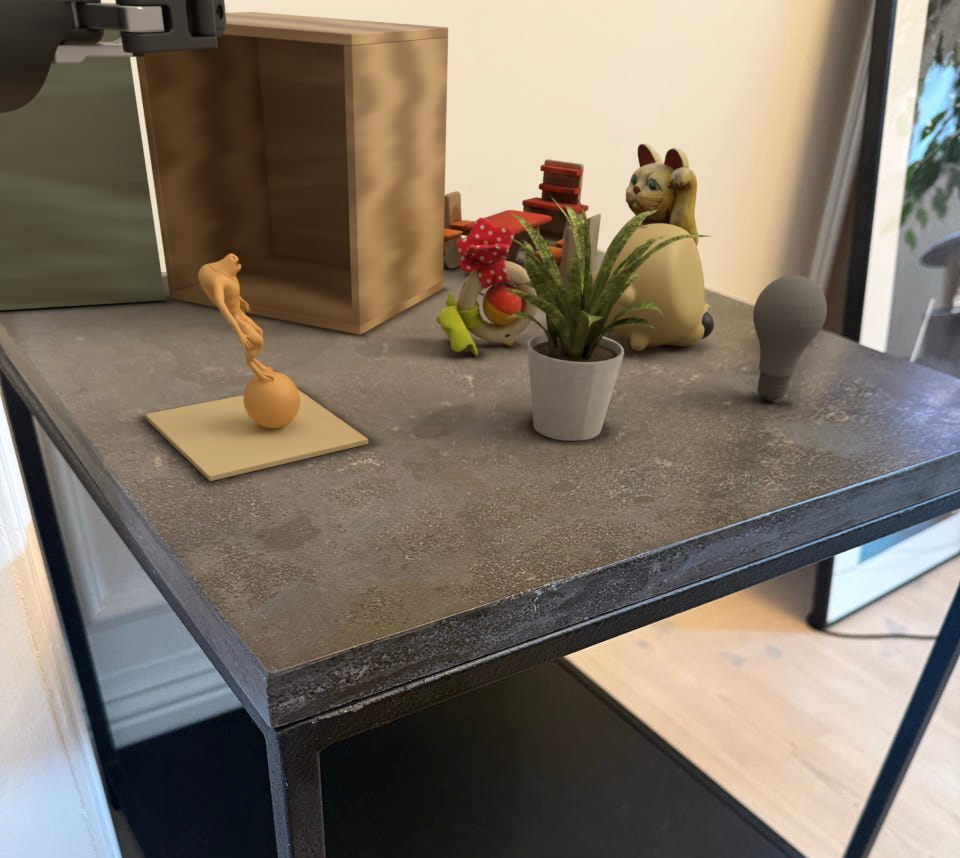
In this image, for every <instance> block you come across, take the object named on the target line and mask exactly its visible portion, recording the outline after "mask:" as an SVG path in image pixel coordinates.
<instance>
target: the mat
mask: <svg viewBox="0 0 960 858" xmlns="http://www.w3.org/2000/svg"><path fill="white" fill-rule="evenodd" d="M298 392H299V396H300V407H299V411H298V413H297V415H296V417H295V418H294V419H293V420H292V421H291V422H290V423H289V424H287V425H285V426H283V427H280V428H266V427H263V426H261V425H259V424H257V423H256V422H254V421H253V420H252V419H251V418H250V416H249V415H248V413H247V411H246V409H245V406H244V401H243V396H244V394H243V395H236V396H233V397H227V398H221V399H215V400H211V401H206V402H201V403H196V404H190V405H186V406H180V407H175V408H171V409H164V410H160V411H155V412H149V413H145V414H144V415H145V420H146V421H148V423H149V424H150V425H151V426H152V427H153V428H155V430H157V431H158V432H159V433H160V434H161V436H163V438H165V439H166V441H168V442H169V443H170V444H171V445H172V446H173V447H174V448H175V449H176V450H177V451H178V452H179V453H180V454H181V455H182V456H183V457H184V458H185V459H186V460H187V461H188V462H189V463H190V464H191V465H193V467H195V468H196V470H197V471H199V472H200V473H201V475H203V476H204V477H205V478H206V479H207V480H208V481H209V482H214V481H217V480H222V479H226V478H230V477H235V476H239V475H242V474H247V473H251V472H256V471H259V470H264V469H268V468H272V467H273V468H274V467H276V466H277V467H278V466H281V465H285V464H290V463H294V462H297V461H302V460H306V459H310V458H315V457H318V456H323V455H327V454H331V453H336V452H340V451H344V450H348V449H352V448H357V447H362V446H367V445H368V444H369V438H367V437H366V436H364V435H363V434H361V433H360V432H359V431H358V430H356V429H355V428H353V427H352V426H351V425H349V424H348V423H346V422H345V421H344V420H342V419H340V418H339V417H337V415H335V414H334V413H332V412H331V411H330V410H328V409H326V408H325V407H324V406H322V405H321V404H319V403H318V402H316V401H315V400H313V399H312V398H311V397H309V395H306V393H304V392H303V391H301V390H300V389H298Z"/></svg>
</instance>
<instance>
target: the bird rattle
mask: <svg viewBox="0 0 960 858" xmlns="http://www.w3.org/2000/svg"><path fill="white" fill-rule="evenodd" d="M484 218H485V217H479V218H478V219H477V220H475V221H476V222H475V224H474V226H473V228H472V231H471V233H470V234H469V235H468V236H466V237H465V236H464V237H462V239H459V240H458V241H457V246H456V248H457V251H458V253H459V254H460V256H461V257H462V258H461V261H460V266H459V267H460V270H461V271H462V272H464V273H467V274H468V275H467V277H466V278H465V280H464V281H463V283H462V286H461V288H460V289H459V293H458V298H457V301H456V302H455V298H454V293H453V292H452V291H450V292H449V293H448V294H447V298H446V301H445V305H446V306H445V307H444V308H443V309H441V311H440V312H439V314H438V315H437V317H436V322H437V323H438V325H440V326H441V329H442V331H444V332H445V333H446V336H447V337H448V339H449V342H450V348H451V350H452V351H453V352H455V353H460V352H462V351H464V350H465V349H466V348H467V347H468V349H469V350H470V352H471V353H472V355H473V356H474V357H477V356H478V353H479V350H478V348H477V346H476V344H475V342H474V340H473V338H472V336H471V334H472V335H474V336H475V337H477V338H479V339H481V340H484V341H487V342H491V343H493V342H494V343H502V344H504V345H505V346H508V347H512V346H513V345H514V344H515V341H516V339H517V337H518V336H519V335H521V334H522V333H523V332H524V331H525V330H526V329H527V328H528V326H529V325H530V324H531V322H532V321H531V320H527V319H522V318H512V317H510V318H508V317H509V316H510V315H512V314H514V313H516V312H525V313H527V314H529V315H531V316H532V317H533V318H535V315H536V312H537V309H538V308H537V307H535V306H533V305H531V304H530V303H528V302H527V301H525V300H524V299H523V298H521V297H520V296H518V295H516V294H513V293H510V292H508V291H507V290H505V289H504V288H509V289H516V290H517V288H518V287H517V284H523V283H525V282H528V281H530V279H529V277H528V275H527V272H526V269H525V267H522V266H521V265H520V264H518V263H516V262H515V261H511V260H506V256H507V255H508V253H509V249H510V246H511V244H512V241H513V240H512V239H513V238H514V232H513V231H512V230H511V229H510V228H508V227H496V226H494V225H492V224H491V223H490V222H488V221H487V220H486V219H484ZM502 235H504V236H502ZM505 236H507V237H505ZM508 237H509V238H508ZM510 238H512V239H510ZM470 272H471V273H470ZM486 289H487V290H486ZM482 290H486V292H485V293H483V292H482ZM518 290H521V291H524V292H527V293H530V294H532V295H535V296H537V294H536V291H535V289H534V288H532V287H530V286H528V285H525V284H523V285H521V286H520V287H519V288H518ZM479 295H480V296H482V297H483V300H482V312H483V314H484V316H485V317H486V319H487V320H488V321H489V322H488V321H486V320H484V318H483V317H482V315H481V313H480V304H479V301H478V300H477V299H478V296H479ZM537 297H538V296H537ZM507 318H508V319H507ZM470 333H471V334H470Z"/></svg>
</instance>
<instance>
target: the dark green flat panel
mask: <svg viewBox="0 0 960 858" xmlns="http://www.w3.org/2000/svg"><path fill="white" fill-rule="evenodd" d="M119 35H120V31H116V30H104V36H103V38H102V39H101V41H100V42H114V41H116V40H117V39H118V37H119ZM137 102H138V101H137V96H136V88H135V82H134V75H133V67H132V62H131V57H88V58H86V59H85V60H84V61H83V62H82V63H79V64H53V63H52V64H51V67H50V70H49V73H48V76H47V78H46V80H45V83H44V85H43V86H42V88H41V90H40V91H39V93H38V94H37V95H36V96H35V97H34V98H33V100H31V101H30V102H29V103H28V104H26V105H25V106H23V107H21V108H19V109H17V110H14V111H10V112H5V113H0V311H10V310H11V311H12V310H26V309H29V310H30V309H44V308H59V307H61V308H63V307H73V306H74V307H77V306H92V305H93V306H94V305H110V304H112V305H113V304H124V303H126V304H127V303H143V302H158V301H166V294H165V287H164V281H163V275H162V274H163V273H162V268H161V260H160V254H159V246H158V240H157V233H156V227H155V220H154V213H153V207H152V206H153V205H152V199H151V192H150V191H151V190H150V185H149V179H148V170H147V164H146V158H145V151H144V144H143V143H144V142H143V136H142V129H141V123H140V117H139V109H138V103H137Z"/></svg>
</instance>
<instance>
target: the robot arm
mask: <svg viewBox="0 0 960 858" xmlns="http://www.w3.org/2000/svg"><path fill="white" fill-rule="evenodd" d="M225 2H226V1H225V0H115V2H102V0H0V113H5V112H10V111H14V110H17V109H19V108H21V107H23V106H25V105H26V104H28V103H29V102H30V101H31V100H33V98H34V97H35V96H36V95H37V94H38V93H39V91H40V90H41V88H42V86H43V85H44V83H45V80H46V78H47V76H48V73H49V70H50V67H51V64H52V63H53V64H79V63H82V62H83V61H84V60H85V59H86V58H88V57H130V58H136V57H145V53H158V52H170V51H183V50H195V49H199V51H210V48H218V45H217V38H218V37H222V36H223V34H224V29H227V23H226V13H227V11H226V3H225ZM104 30H116V31H120V35H119V37H118V39H117V40H116V41H114V42H100V41H101V39H102V38H103V36H104Z"/></svg>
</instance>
